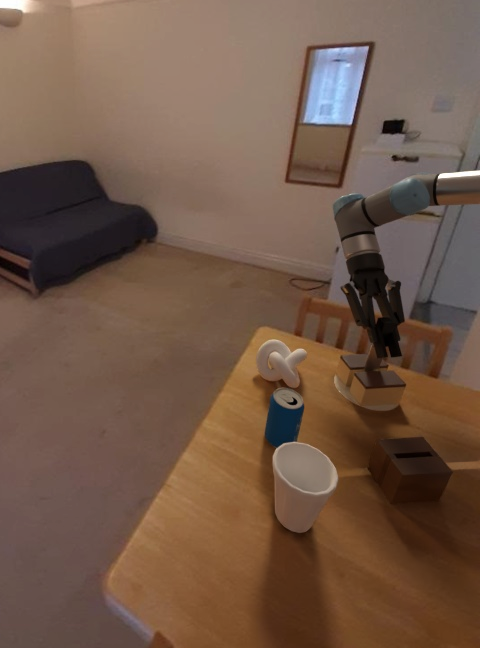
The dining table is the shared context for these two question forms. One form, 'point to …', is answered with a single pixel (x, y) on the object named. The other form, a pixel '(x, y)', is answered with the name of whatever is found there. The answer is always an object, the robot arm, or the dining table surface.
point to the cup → (301, 484)
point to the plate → (347, 395)
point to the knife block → (408, 470)
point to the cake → (370, 381)
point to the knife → (386, 330)
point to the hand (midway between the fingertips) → (389, 357)
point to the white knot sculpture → (279, 362)
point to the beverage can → (284, 417)
